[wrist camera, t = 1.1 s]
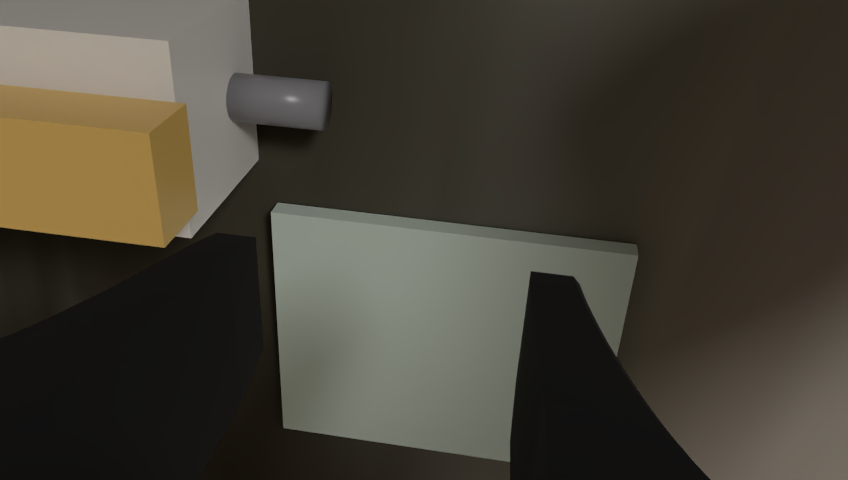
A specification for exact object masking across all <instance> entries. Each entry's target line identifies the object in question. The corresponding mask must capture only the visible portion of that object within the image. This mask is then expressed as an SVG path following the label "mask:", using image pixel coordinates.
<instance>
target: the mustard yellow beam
mask: <svg viewBox="0 0 848 480" xmlns="http://www.w3.org/2000/svg"><path fill="white" fill-rule="evenodd" d="M197 211H198V206H197V197H196V188H195V179H194V170H193V161H192V152H191V143H190V134H189V125H188V116H187V107H186V103H176V102H166V101H157V100H147V99H137V98H127V97H118V96H108V95H98V94H88V93H79V92H69V91H59V90H49V89H40V88H30V87H20V86H11V85H1V84H0V227H2V228H10V229H18V230H26V231H34V232H42V233H50V234H58V235H66V236H74V237H82V238H90V239H98V240H106V241H114V242H122V243H130V244H138V245H146V246H154V247H162V248H165V247H166V246H167V245H168V244H169V243H170V241H171V240H172V239H173V238H174V237H175V236H176V235H177V234H178V233H179V231H180V230H181V229H182V228H183V227H184V226H185V225H186V224H187V223H188V221H189V220H190V219H191V218H192V217H193V216H194V215H195V214H196V212H197Z"/></svg>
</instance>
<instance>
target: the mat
mask: <svg viewBox="0 0 848 480" xmlns="http://www.w3.org/2000/svg"><path fill="white" fill-rule="evenodd" d="M271 224H272V242H273V259H274V276H275V293H276V310H277V327H278V344H279V361H280V379H281V396H282V413H283V428H287V429H293V430H300V431H307V432H313V433H320V434H327V435H333V436H340V437H347V438H353V439H360V440H367V441H373V442H380V443H387V444H393V445H400V446H407V447H413V448H420V449H427V450H433V451H440V452H447V453H453V454H460V455H467V456H473V457H480V458H487V459H493V460H500V461H507V462H510V436H511V425H512V415H513V405H514V395H515V384H516V376H517V369H518V362H519V354H520V347H521V339H522V332H523V325H524V317H525V310H526V302H527V295H528V288H529V280H530V273H531V271H534V272H542V273H551V274H559V275H567V276H574V278H575V279H576V280H577V281H578V283H579V284H580V286H581V289H582V291H583V294H584V296H585V298H586V301H587V303H588V305H589V307H590V309H591V311H592V313H593V316H594V317H595V319H596V321H597V323H598V325H599V327H600V329H601V331H602V333H603V335H604V336H605V338H606V340H607V342H608V344H609V345H610V347H611V349H612V350H613V352H614V354H615V355H616V357H617V354H618V349H619V345H620V340H621V335H622V331H623V326H624V321H625V317H626V312H627V307H628V303H629V298H630V293H631V289H632V284H633V279H634V275H635V270H636V265H637V261H638V256H639V255H638V249H637V244H629V243H620V242H612V241H603V240H594V239H586V238H577V237H569V236H560V235H551V234H543V233H534V232H526V231H517V230H508V229H500V228H491V227H483V226H474V225H465V224H457V223H448V222H440V221H431V220H422V219H414V218H405V217H397V216H388V215H379V214H371V213H362V212H354V211H345V210H336V209H328V208H319V207H311V206H302V205H293V204H285V203H277V204H276V206H275V207H274V209H273V210H272V211H271Z"/></svg>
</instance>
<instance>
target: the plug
mask: <svg viewBox="0 0 848 480" xmlns="http://www.w3.org/2000/svg"><path fill="white" fill-rule="evenodd" d="M0 84H1V85H11V86H20V87H30V88H40V89H49V90H59V91H69V92H79V93H88V94H98V95H108V96H118V97H127V98H137V99H147V100H157V101H166V102H176V103H186V107H187V116H188V125H189V134H190V143H191V152H192V161H193V170H194V179H195V188H196V197H197V206H198V211H197V212H196V214H195V215H194V216H193V217H192V218H191V219H190V220H189V221H188V223H187V224H186V225H185V226H184V227H183V228H182V229H181V230H180V231H179V233H178V234H177V235H176V237H184V238H192V237H193V236H194V235H195V233H196V232H197V231H198V230H199V229H200V228H201V226H202V225H203V224H204V223H205V222H206V221H207V219H208V218H209V217H210V216H211V215H212V214H213V212H214V211H215V210H216V209H217V208H218V207H219V205H220V204H221V203H222V202H223V201H224V200H225V198H226V197H227V196H228V195H229V194H230V193H231V191H232V190H233V189H234V188H235V187H236V186H237V184H238V183H239V182H240V181H241V180H242V179H243V177H244V176H245V175H246V174H247V173H248V172H249V170H250V169H251V168H252V167H253V166H254V165H255V163H256V162H257V161H258V160H259V157H258V141H257V126H256V124H262V125H271V126H281V127H291V128H300V129H310V130H319V131H325V130H326V129H327V127H328V124H329V121H330V116H331V109H332V91H331V86H330V83H329V82H328V81H318V80H308V79H298V78H287V77H277V76H267V75H256V74H253V64H252V48H251V33H250V18H249V2H248V0H0Z"/></svg>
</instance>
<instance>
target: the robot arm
mask: <svg viewBox="0 0 848 480" xmlns="http://www.w3.org/2000/svg"><path fill="white" fill-rule="evenodd" d="M262 349H263V335H262V321H261V307H260V293H259V279H258V264H257V250H256V238H255V237H247V236H239V235H231V234H222V233H216V234H213V235H211V236H208V237H206V238H204V239H202V240H200V241H198V242H196V243H194V244H192V245H190V246H188V247H186V248H184V249H183V250H181V251H179V252H177V253H175V254H173V255H171V256H170V257H168V258H166V259H164V260H162V261H160V262H159V263H157V264H155V265H153V266H151V267H149V268H147V269H145V270H144V271H142V272H140V273H138V274H136V275H134V276H132V277H131V278H129V279H127V280H125V281H123V282H121V283H119V284H117V285H116V286H114V287H112V288H110V289H108V290H106V291H104V292H102V293H100V294H98V295H96V296H93V297H91V298H89V299H87V300H85V301H83V302H81V303H79V304H77V305H75V306H73V307H71V308H69V309H67V310H65V311H63V312H60V313H58V314H56V315H54V316H52V317H50V318H48V319H46V320H44V321H41V322H39V323H37V324H35V325H32V326H30V327H28V328H25V329H23V330H20V331H18V332H16V333H13V334H11V335H8V336H6V337H3V338H1V339H0V480H198V479H199V478H200V476H201V474H202V472H203V471H204V469H205V467H206V465H207V464H208V462H209V460H210V458H211V457H212V455H213V453H214V451H215V450H216V448H217V446H218V444H219V443H220V441H221V439H222V437H223V435H224V434H225V432H226V430H227V428H228V426H229V425H230V423H231V421H232V419H233V417H234V416H235V414H236V412H237V410H238V408H239V406H240V404H241V403H242V400H243V398H244V396H245V393H246V391H247V388H248V386H249V383H250V381H251V378H252V376H253V373H254V370H255V368H256V365H257V362H258V360H259V357H260V354H261V352H262ZM510 480H710V479H709V478H708V477H707V476H706V475H705V473H704V472H703V471H702V470H701V469H700V468H699V467H698V466H697V465H696V464H695V463H694V462H693V461H692V460H691V458H690V457H689V456H688V455H687V454H686V452H685V451H684V450H683V449H682V448H681V447H680V445H679V444H678V443H677V442H676V441H675V440H674V438H673V437H672V436H671V435H670V433H669V432H668V431H667V430H666V428H665V427H664V426H663V424H662V423H661V422H660V420H659V419H658V418H657V417H656V415H655V414H654V413H653V411H652V410H651V408H650V407H649V406H648V404H647V403H646V401H645V400H644V398H643V397H642V396H641V394H640V393H639V391H638V390H637V389H636V387H635V386H634V384H633V383H632V381H631V379H630V378H629V376H628V375H627V373H626V372H625V370H624V369H623V367H622V365H621V364H620V362H619V360H618V359H617V357H616V355H615V354H614V352H613V350H612V349H611V347H610V345H609V344H608V342H607V340H606V338H605V336H604V335H603V333H602V331H601V329H600V327H599V325H598V323H597V321H596V319H595V317H594V316H593V313H592V311H591V309H590V307H589V305H588V303H587V301H586V298H585V296H584V294H583V291H582V289H581V286H580V284H579V283H578V281H577V280H576V279H575V278H574V276H567V275H559V274H551V273H542V272H534V271H531V273H530V280H529V288H528V295H527V302H526V310H525V317H524V325H523V332H522V339H521V347H520V354H519V362H518V369H517V376H516V384H515V395H514V405H513V415H512V425H511V436H510Z"/></svg>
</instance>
